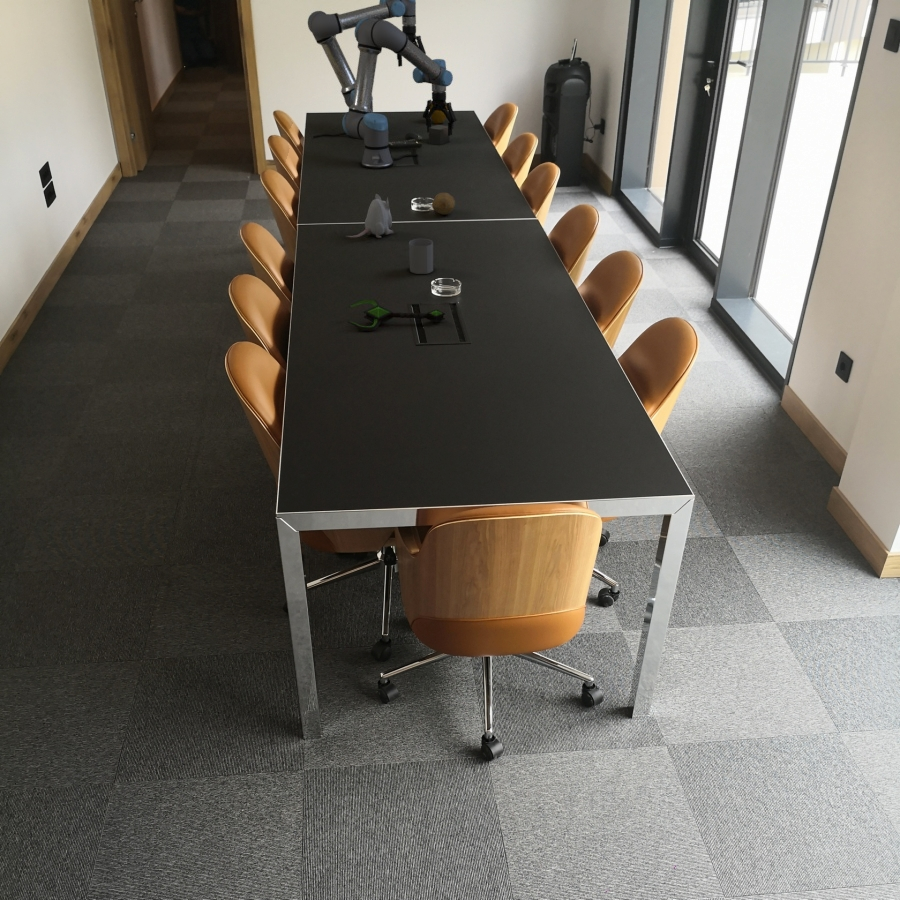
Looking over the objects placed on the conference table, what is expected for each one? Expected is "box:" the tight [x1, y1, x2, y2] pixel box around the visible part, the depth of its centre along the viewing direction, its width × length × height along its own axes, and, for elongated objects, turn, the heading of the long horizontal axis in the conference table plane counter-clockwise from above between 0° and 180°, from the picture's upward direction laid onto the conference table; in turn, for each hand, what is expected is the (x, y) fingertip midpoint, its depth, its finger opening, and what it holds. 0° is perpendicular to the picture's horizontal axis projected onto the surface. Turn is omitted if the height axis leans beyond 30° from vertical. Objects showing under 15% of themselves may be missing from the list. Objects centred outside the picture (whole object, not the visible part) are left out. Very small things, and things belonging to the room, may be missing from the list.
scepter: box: [348, 298, 446, 331], centre depth 269 cm, size 6×13×30 cm
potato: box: [431, 192, 456, 216], centre depth 360 cm, size 10×14×8 cm
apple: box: [429, 104, 448, 125], centre depth 502 cm, size 11×11×13 cm
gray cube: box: [428, 124, 450, 146], centre depth 465 cm, size 8×8×8 cm
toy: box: [345, 193, 394, 239], centre depth 333 cm, size 9×24×15 cm, turn 137°
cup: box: [408, 237, 434, 275], centre depth 305 cm, size 8×8×10 cm
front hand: (439, 133), depth 465 cm, fingers open, 13 cm apart
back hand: (410, 67), depth 481 cm, fingers open, 13 cm apart
